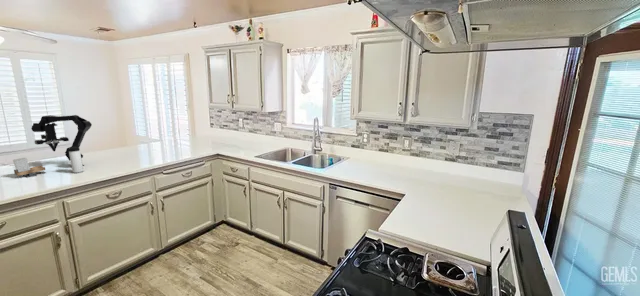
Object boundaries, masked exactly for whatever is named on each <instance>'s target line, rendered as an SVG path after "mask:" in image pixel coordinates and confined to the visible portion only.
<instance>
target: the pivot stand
mask: <svg viewBox="0 0 640 296" xmlns="http://www.w3.org/2000/svg"><path fill="white" fill-rule="evenodd" d="M39 173H40V174H41V175H42V174H46V173H47V172H45V170H43V171H39ZM16 176H17V175H16ZM23 176H25V177H26V178H31V177H32V178H33V177H37V176H38V175H37V174H36V172H34V173H29V174H25V175H20V176H17V178H19V179H22V178H23Z"/></svg>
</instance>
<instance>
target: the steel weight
mask: <svg viewBox="0 0 640 296" xmlns="http://www.w3.org/2000/svg"><path fill="white" fill-rule="evenodd" d="M12 162H13V165H14V168H15V170H16V171H17V172H18V173H19V172H24V171H28V170H30V168H31V167H30V165H29V160H28V159H27V157H21V158H16V159H12Z"/></svg>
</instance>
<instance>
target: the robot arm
mask: <svg viewBox="0 0 640 296" xmlns="http://www.w3.org/2000/svg"><path fill="white" fill-rule="evenodd" d="M68 121H72V122H73V123H74V124H75V125H76V126H77V133H76V135H75V137H74V139H73V142H72V144H71V146H70V147H72V146H79V148H80V147H81V144H82V142H83V140H84V138H85V135H86V133H87V132H88V131H89V130H90V129H91V127H92V122H90V121H89V120H87V119H85V118H83V117H81V116H79V115H77V114H73V115H59V116H58V115H43V116H41V118H40V120H39V121H38V122H33V124H32V125H31V128H30V129H31V131H32V132H34V133H44V134H40V138H41V139H35V140H34V144H35V145H43V144H45V145H48V146H49V147H50V149H51V150H52V151H53V152H56V149H57V148H58V144H60V142H61V141H62V142H69V141H70V140H69V137H67V136H61V137H59V138H58V137H57V132H56V129H55V127H56V126H58V124H57V123H56V122H68ZM68 148H69V147H67V148H66V150H65V152H64V153H65V154H64V155H65V156H66V158H67V159H68V161H70V156H69V150H68ZM80 154H81V160H82V159H83V158H84V155H83V154H82V153H81V152H80ZM82 161H83V160H82ZM70 162H71V161H70ZM82 165H83V166H85V164H84V163H82ZM70 168H72V166H71V165H70Z"/></svg>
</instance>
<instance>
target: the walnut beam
mask: <svg viewBox="0 0 640 296" xmlns="http://www.w3.org/2000/svg"><path fill="white" fill-rule="evenodd" d="M42 171H46V167H45V166H42V165H38V166H33V167H30V170H28V171H24V172H19V173H18V172H17V171H16V169H13V172H14V175H15V176H20V175H22V176H24V175H25V174H29V173H37V172H42Z"/></svg>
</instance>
